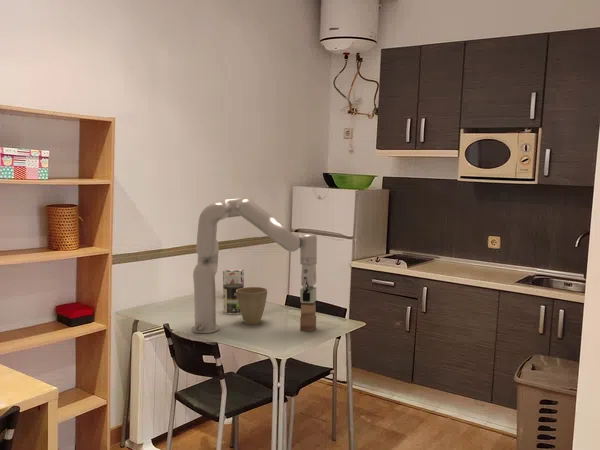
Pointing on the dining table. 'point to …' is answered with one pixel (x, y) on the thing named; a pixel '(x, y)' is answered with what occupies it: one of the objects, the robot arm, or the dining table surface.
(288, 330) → the dining table surface
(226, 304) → the coffee can
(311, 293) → the sage block
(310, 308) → the tower block
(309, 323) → the tower base block
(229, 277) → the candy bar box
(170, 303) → the dining table surface
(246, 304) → the plant pot
